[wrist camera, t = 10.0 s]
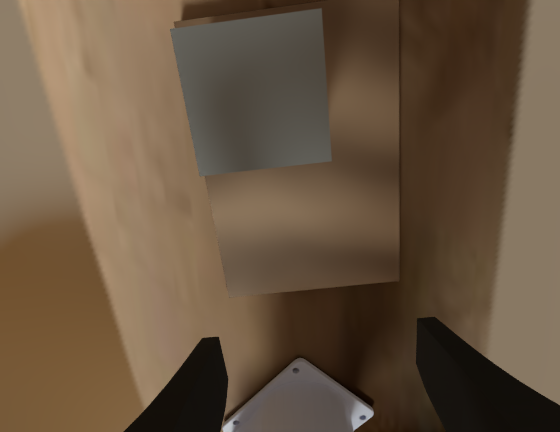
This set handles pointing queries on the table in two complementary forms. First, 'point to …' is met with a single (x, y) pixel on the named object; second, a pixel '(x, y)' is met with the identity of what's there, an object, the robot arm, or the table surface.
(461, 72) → the table surface
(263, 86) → the matte gray cube
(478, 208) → the table surface
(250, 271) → the stand
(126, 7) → the table surface
